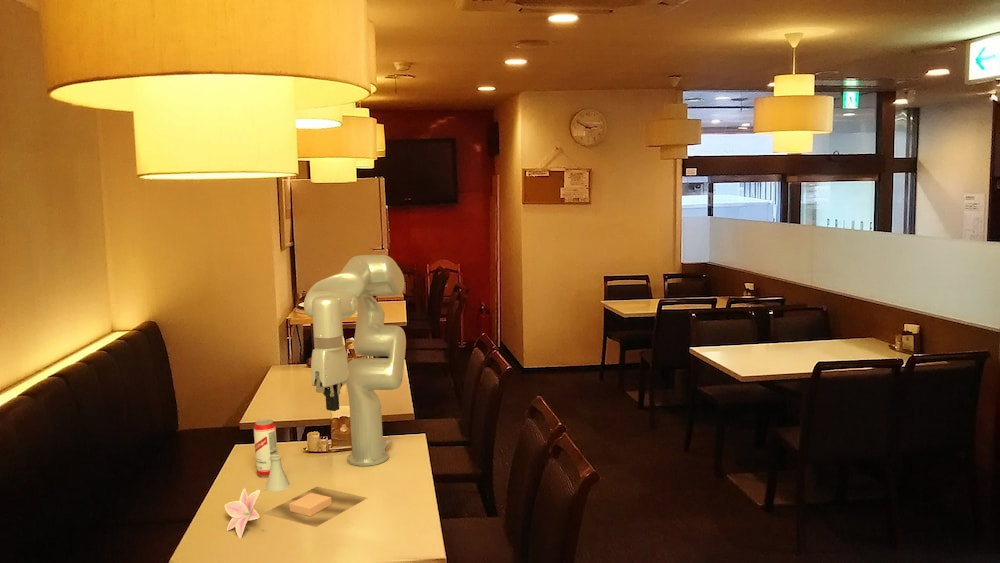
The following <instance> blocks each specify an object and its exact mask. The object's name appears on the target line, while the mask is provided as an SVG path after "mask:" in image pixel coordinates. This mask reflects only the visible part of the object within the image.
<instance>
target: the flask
mask: <svg viewBox="0 0 1000 563" xmlns="http://www.w3.org/2000/svg"><path fill="white" fill-rule="evenodd" d="M269 459H270V460H271V469H270V474H269V477H267V482H266V485H265V489H264V491H265V492H266V491H269V492H280V491H285V490H286V489H288V488H289V486H290V484H291V483H290V481H289V480H288V478H287V475H286V474H285V471H284V469H283V465H282V461H281V459H282V455H281V454H278V455H272V456H270V458H269Z"/></svg>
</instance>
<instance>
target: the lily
mask: <svg viewBox="0 0 1000 563" xmlns="http://www.w3.org/2000/svg"><path fill="white" fill-rule="evenodd" d="M260 492H261V490H260V489H256V490H255V491H253V492H252V493H250V494H249V495H248V492H247V489H246V487H244V488H243V489H242V492H241V494H240V495H239V496H240V497H239V500H234V501H230V502H229V501H228V502H227V503H225V504H224V509H225V512H227V514H228V515H229V516H230V517H231V519H230V521H229V523H228V525H227V528H226V531H227V532H229V531H231V530H232V529H234V528H235V532H236V535H237V538H239V539H242V536H243V533H244V531H245V529H246V528H245V527H246V525H247V523H248V521H253V520H256V521H257V519H259V518H260V514H259V513H258V512H257V510H256V509H255V508H254V506H255V503H256V501H257V499H258V497H259V495H260Z"/></svg>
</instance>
